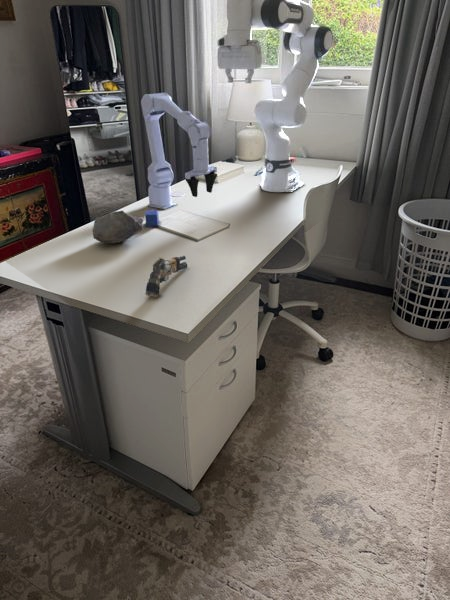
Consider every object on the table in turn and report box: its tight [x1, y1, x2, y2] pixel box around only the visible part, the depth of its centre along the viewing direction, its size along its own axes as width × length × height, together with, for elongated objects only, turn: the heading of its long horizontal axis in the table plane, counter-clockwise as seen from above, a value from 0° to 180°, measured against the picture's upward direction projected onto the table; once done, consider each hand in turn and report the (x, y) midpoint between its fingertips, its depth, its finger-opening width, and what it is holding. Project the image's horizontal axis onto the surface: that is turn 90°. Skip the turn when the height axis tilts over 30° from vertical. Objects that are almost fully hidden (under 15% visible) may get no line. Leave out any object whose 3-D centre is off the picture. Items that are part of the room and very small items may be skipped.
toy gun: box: [145, 255, 188, 298], centre depth 120 cm, size 3×21×10 cm, turn 158°
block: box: [144, 209, 160, 228], centre depth 162 cm, size 4×5×5 cm
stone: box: [91, 210, 144, 244], centre depth 146 cm, size 18×10×15 cm
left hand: (202, 194), depth 163 cm, fingers open, 7 cm apart
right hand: (239, 82), depth 160 cm, fingers open, 8 cm apart
